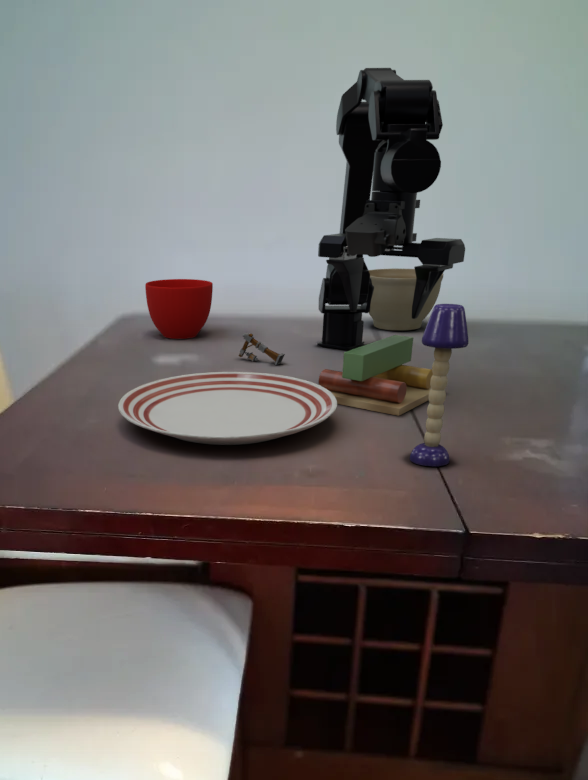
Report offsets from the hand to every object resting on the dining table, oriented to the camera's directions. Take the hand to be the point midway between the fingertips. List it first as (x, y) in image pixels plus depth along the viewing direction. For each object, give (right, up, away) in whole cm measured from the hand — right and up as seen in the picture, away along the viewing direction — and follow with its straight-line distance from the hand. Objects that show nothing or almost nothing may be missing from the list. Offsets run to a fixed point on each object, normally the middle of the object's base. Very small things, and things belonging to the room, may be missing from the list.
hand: (383, 314), depth 102 cm
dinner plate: (-22, -16, -7) cm, 28 cm away
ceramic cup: (-29, +8, +46) cm, 55 cm away
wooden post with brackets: (-15, -2, +23) cm, 28 cm away
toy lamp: (0, -21, -20) cm, 29 cm away
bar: (0, -7, +2) cm, 7 cm away
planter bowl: (+15, +11, +51) cm, 55 cm away
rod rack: (0, -11, +4) cm, 11 cm away
